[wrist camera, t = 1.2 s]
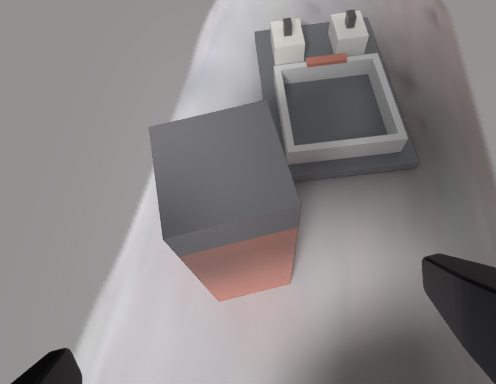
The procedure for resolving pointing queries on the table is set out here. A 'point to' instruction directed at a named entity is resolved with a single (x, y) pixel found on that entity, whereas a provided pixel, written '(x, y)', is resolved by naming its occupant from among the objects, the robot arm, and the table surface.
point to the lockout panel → (332, 98)
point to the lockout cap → (227, 199)
